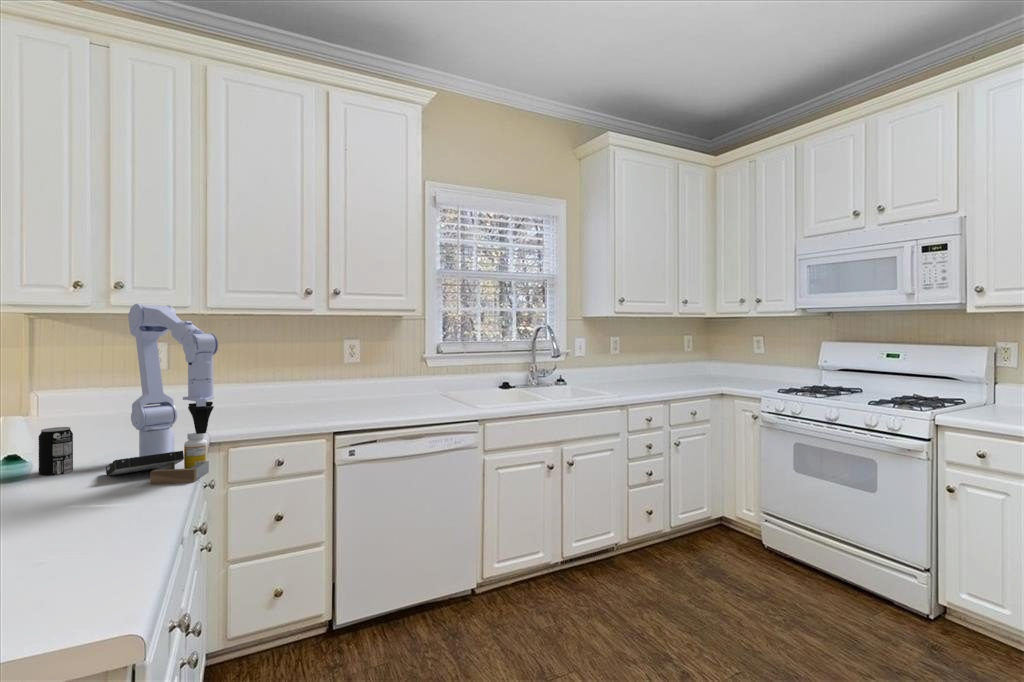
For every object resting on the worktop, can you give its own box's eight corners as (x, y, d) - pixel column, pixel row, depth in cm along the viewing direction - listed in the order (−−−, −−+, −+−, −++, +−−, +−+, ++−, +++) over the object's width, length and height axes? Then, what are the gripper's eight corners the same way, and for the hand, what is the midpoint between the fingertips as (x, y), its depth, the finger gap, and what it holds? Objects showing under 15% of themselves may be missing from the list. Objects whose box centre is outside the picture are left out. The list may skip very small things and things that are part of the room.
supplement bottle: (191, 466, 144) (190, 431, 144) (211, 466, 144) (211, 430, 144) (180, 471, 138) (179, 434, 138) (201, 471, 139) (201, 434, 139)
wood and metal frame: (168, 474, 135) (168, 462, 135) (208, 472, 137) (208, 460, 137) (150, 484, 126) (150, 471, 126) (194, 482, 128) (194, 469, 128)
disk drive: (115, 471, 127) (185, 460, 138) (114, 459, 127) (184, 449, 138) (105, 478, 133) (172, 466, 144) (104, 466, 134) (171, 456, 145)
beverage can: (45, 474, 136) (44, 427, 136) (76, 471, 138) (76, 425, 138) (33, 480, 130) (33, 431, 130) (67, 477, 132) (67, 429, 132)
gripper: (183, 378, 143) (183, 428, 143) (182, 381, 130) (182, 437, 130) (213, 377, 146) (213, 426, 146) (215, 380, 134) (215, 434, 134)
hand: (200, 431), depth 138 cm, fingers open, 7 cm apart
